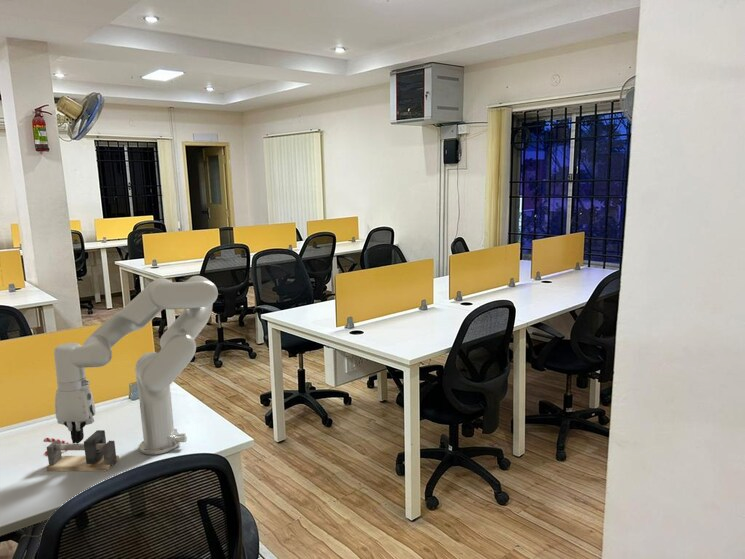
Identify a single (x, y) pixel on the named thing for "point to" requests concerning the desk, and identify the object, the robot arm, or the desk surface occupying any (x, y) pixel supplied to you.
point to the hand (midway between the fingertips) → (77, 441)
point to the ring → (94, 446)
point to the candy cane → (56, 440)
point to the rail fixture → (80, 457)
